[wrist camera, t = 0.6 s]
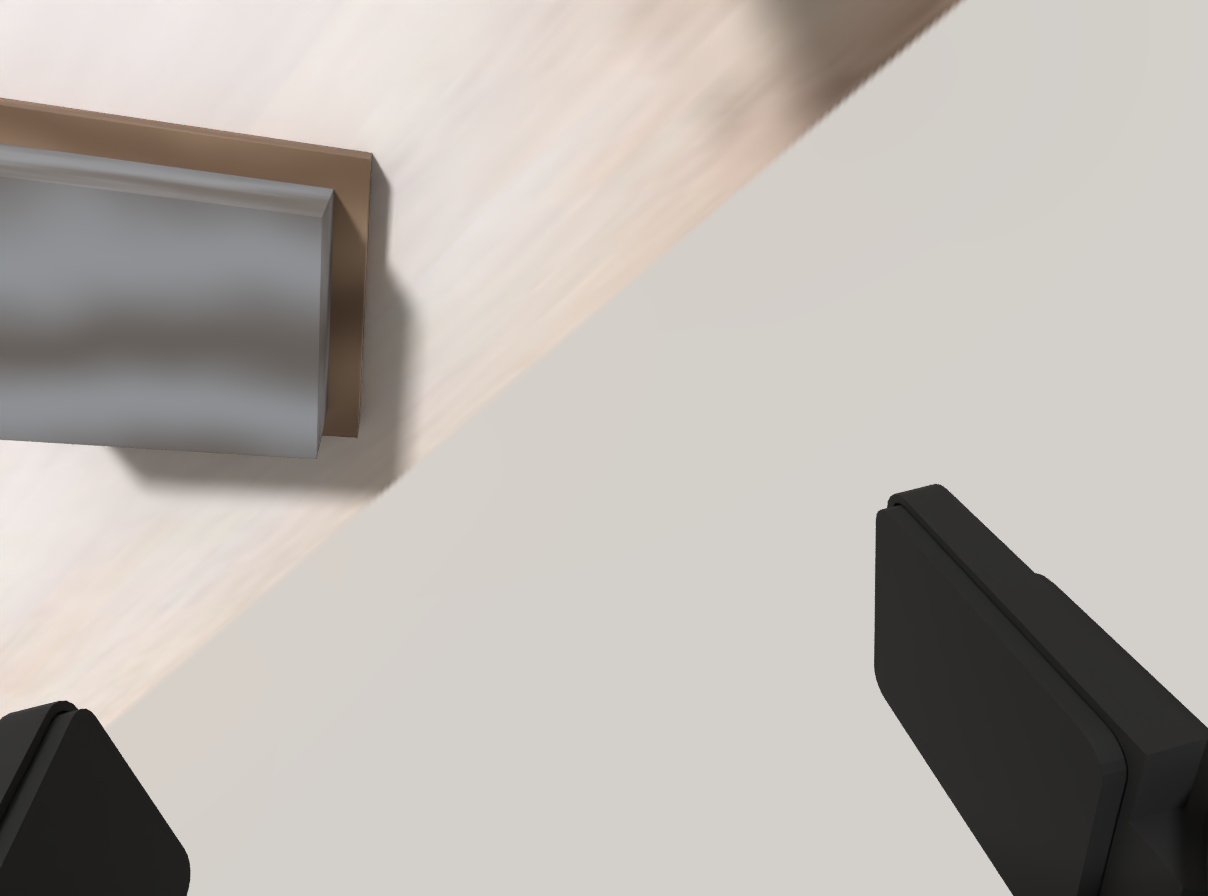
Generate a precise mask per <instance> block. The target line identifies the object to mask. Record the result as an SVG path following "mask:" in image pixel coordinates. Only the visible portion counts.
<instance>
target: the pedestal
mask: <svg viewBox="0 0 1208 896" xmlns="http://www.w3.org/2000/svg"><path fill="white" fill-rule="evenodd" d="M371 167H372V153H368V152H361V151H355V150H348V149H341V148H334V147H328V146H321V145H314V144H308V143H301V142H294V141H287V140H281V139H274V138H267V137H261V136H254V135H247V134H240V133H234V132H227V131H220V130H213V129H207V128H200V127H193V126H187V125H180V124H173V123H166V122H160V121H153V120H146V119H139V118H133V117H126V116H119V115H113V114H106V113H99V112H92V111H86V110H79V109H72V108H65V107H59V106H52V105H45V104H39V103H32V102H25V101H18V100H12V99H5V98H0V440H15V441H31V442H48V443H64V444H80V445H97V446H113V447H130V448H146V449H162V450H179V451H195V452H211V453H228V454H244V455H261V456H277V457H293V458H310V459H317V454H318V450H319V446H320V441H321V437H322V435H326V436H340V437H355V438H357V436H358V429H359V418H360V397H361V376H362V355H363V334H364V313H365V292H366V271H367V250H368V229H369V208H370V187H371Z"/></svg>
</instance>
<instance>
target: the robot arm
mask: <svg viewBox="0 0 1208 896" xmlns="http://www.w3.org/2000/svg"><path fill="white" fill-rule="evenodd" d="M875 562H876V563H875V646H874V650H875V651H874V652H875V653H874V668H875V675H876V680H877V682H878V686H879V688H880V690H881V693H882V695H883V696H884V698H885V700H886V701H887V703H888V704H889V706H890V707H891V709H892V710H893V712H894V713H895V715H896V716H897V718H898V720H899V721H900V723H901V724H902V726H903V727H904V729H905V730H906V732H907V733H908V735H909V736H910V738H911V739H912V741H913V742H914V744H915V746H916V747H917V749H918V750H919V752H920V753H921V755H922V756H923V758H924V759H925V761H926V763H927V764H928V766H929V767H930V769H931V770H932V772H933V773H934V775H935V776H936V778H937V779H938V781H939V782H940V784H941V786H942V787H943V788H944V790H945V792H946V793H947V795H948V796H949V798H950V799H951V801H952V802H953V804H954V805H955V807H956V808H957V810H958V812H959V813H960V815H961V816H962V818H963V819H964V821H965V822H966V824H967V825H968V827H969V828H970V830H971V831H972V833H973V835H974V836H975V837H976V839H977V841H978V842H979V844H980V845H981V847H982V848H983V850H984V851H985V853H986V854H987V856H988V858H989V859H990V861H991V862H992V864H993V865H994V867H995V868H996V870H997V871H998V873H999V874H1000V876H1001V877H1002V879H1003V880H1004V882H1005V884H1006V885H1007V887H1008V888H1009V890H1010V891H1011V893H1012V894H1013V896H1208V728H1207V727H1206V726H1205V725H1204V724H1203V723H1202V722H1201V721H1200V720H1199V719H1198V718H1197V717H1195V716H1194V715H1193V714H1192V713H1191V712H1190V711H1189V710H1188V709H1187V708H1186V707H1185V706H1184V705H1183V704H1182V703H1181V702H1179V700H1177V699H1176V698H1175V697H1174V696H1173V695H1172V694H1171V693H1170V692H1169V691H1168V690H1167V689H1166V688H1165V687H1163V686H1162V685H1161V684H1160V683H1159V682H1158V681H1157V680H1156V679H1155V678H1154V677H1153V676H1152V675H1151V674H1150V673H1149V672H1148V671H1147V670H1145V669H1144V668H1143V667H1142V666H1141V665H1140V664H1139V663H1138V662H1137V661H1136V660H1135V659H1134V658H1133V657H1132V656H1131V655H1130V654H1129V653H1127V652H1126V651H1125V650H1124V649H1123V648H1122V647H1121V646H1120V645H1119V644H1118V643H1117V642H1116V641H1115V640H1114V639H1112V637H1110V636H1109V635H1108V634H1107V633H1106V632H1105V631H1104V630H1103V629H1102V628H1101V627H1100V626H1099V625H1098V624H1097V623H1096V622H1094V621H1093V620H1092V619H1091V618H1090V617H1089V616H1088V615H1087V614H1086V613H1085V612H1084V611H1083V610H1082V609H1081V608H1080V607H1078V605H1076V604H1075V603H1074V602H1073V601H1072V600H1071V599H1070V598H1069V597H1068V596H1067V595H1066V594H1065V593H1064V592H1063V591H1062V590H1060V589H1059V588H1058V587H1057V586H1056V585H1055V584H1054V583H1053V582H1051V581H1050V580H1048V579H1047V578H1046V577H1045V576H1043V575H1040V574H1037V573H1034V572H1033V571H1032V570H1031V569H1030V568H1029V567H1028V566H1027V565H1026V564H1025V563H1024V562H1023V561H1021V559H1020V558H1018V557H1017V556H1016V555H1015V554H1014V553H1013V552H1012V551H1011V550H1010V549H1009V548H1008V547H1007V546H1006V545H1005V544H1004V543H1003V542H1002V541H1001V540H999V539H998V538H997V537H996V536H995V535H994V534H993V533H992V532H991V531H990V530H989V529H988V528H987V527H986V526H985V525H984V524H983V523H982V522H981V521H980V520H979V519H978V518H977V517H975V516H974V515H973V514H972V513H971V512H970V511H969V510H968V509H967V508H966V507H965V506H964V505H963V504H962V503H961V502H960V501H959V500H958V499H957V498H956V497H954V496H953V495H952V494H951V493H950V492H949V491H948V490H947V489H946V488H944V487H943V486H942V485H939V484H934V485H929V486H925V487H921V488H917V489H913V490H909V491H905V492H901V493H897V494H894V495H892V496H891V497H890V499H889V500H888V506H887V508H886V509H882V510H880V511H878V513H877V517H876V558H875ZM189 882H190V863H189V859H188V855H187V853H186V851H185V849H184V848H183V846H182V845H181V843H180V842H179V840H178V839H177V837H176V836H175V834H174V833H173V831H172V830H171V828H170V827H169V825H168V824H167V823H166V821H165V819H164V818H163V816H162V815H161V813H160V812H159V810H158V809H157V807H156V806H155V804H154V803H153V802H152V800H151V799H150V797H149V795H148V794H147V792H146V791H145V789H144V788H143V787H142V785H141V784H140V782H139V781H138V779H137V778H136V776H135V775H134V773H133V772H132V770H131V769H130V767H129V766H128V764H127V763H126V761H125V760H124V758H123V757H122V755H121V754H120V752H119V751H118V749H117V748H116V746H115V745H114V743H113V742H112V740H111V739H110V737H109V736H108V734H107V733H106V731H105V730H104V728H103V727H102V725H101V724H100V722H99V721H98V719H97V718H96V716H95V715H94V714H93V713H92V712H91V711H89V710H87V709H79V710H78V709H77V708H76V707H75V705H74V704H72V703H70V702H68V701H57V702H53V703H49V704H45V705H41V706H37V707H33V708H29V709H25V710H21V711H17V712H13V713H9V714H8V715H6V716H4V717H2V719H1V720H0V896H187V892H188V888H189Z"/></svg>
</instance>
